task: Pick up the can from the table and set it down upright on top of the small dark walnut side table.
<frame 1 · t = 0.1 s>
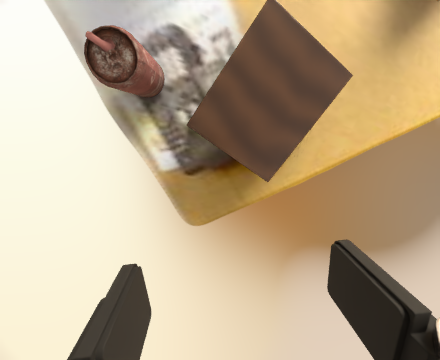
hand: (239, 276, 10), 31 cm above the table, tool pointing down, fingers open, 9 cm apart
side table: (257, 103, 38), on the table
can: (146, 77, 35), on the table
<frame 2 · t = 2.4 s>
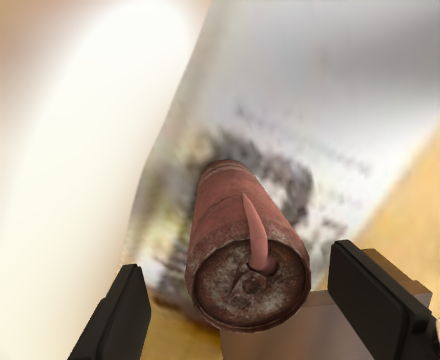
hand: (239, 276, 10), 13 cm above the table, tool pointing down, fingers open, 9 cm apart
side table: (294, 304, 28), on the table
can: (225, 184, 23), on the table
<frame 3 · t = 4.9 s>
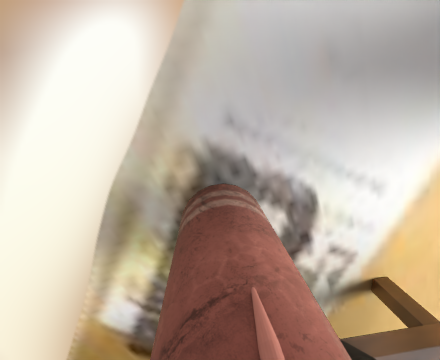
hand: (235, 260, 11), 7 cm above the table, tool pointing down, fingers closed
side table: (297, 343, 24), on the table
can: (221, 215, 17), point 2 cm above the table, touching gripper
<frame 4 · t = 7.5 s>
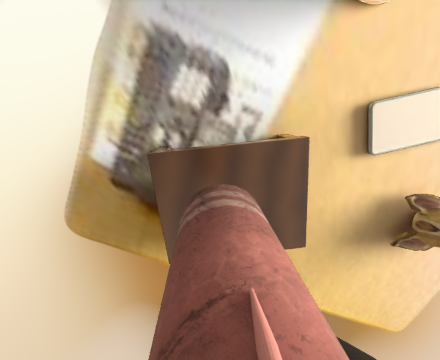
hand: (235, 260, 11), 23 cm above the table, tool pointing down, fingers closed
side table: (228, 187, 35), on the table
can: (220, 215, 17), point 17 cm above the table, touching gripper
smartphone: (411, 119, 33), on the table
ceramic sculpture: (423, 216, 39), on the table
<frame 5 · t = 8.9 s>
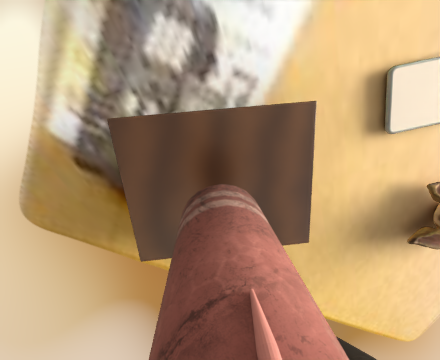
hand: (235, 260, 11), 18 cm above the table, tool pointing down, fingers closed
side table: (217, 171, 29), on the table
can: (220, 215, 17), point 13 cm above the table, touching gripper
smartphone: (436, 91, 28), on the table
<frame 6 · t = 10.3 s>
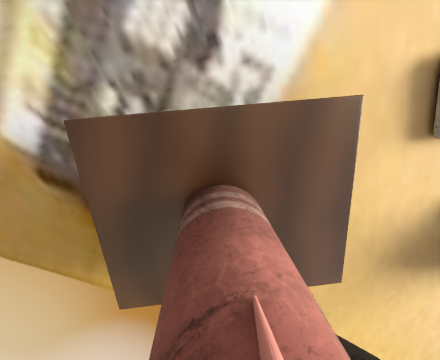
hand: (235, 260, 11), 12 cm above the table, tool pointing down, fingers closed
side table: (220, 186, 23), on the table
can: (221, 216, 16), point 7 cm above the table, touching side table
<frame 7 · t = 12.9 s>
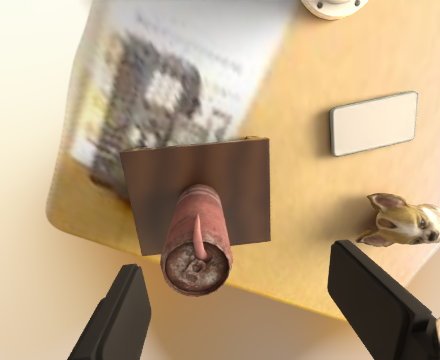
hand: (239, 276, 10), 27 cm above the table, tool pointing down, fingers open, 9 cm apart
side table: (202, 186, 37), on the table
can: (199, 201, 30), point 7 cm above the table, touching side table
smartphone: (370, 124, 36), on the table
ceramic sculpture: (387, 214, 42), on the table
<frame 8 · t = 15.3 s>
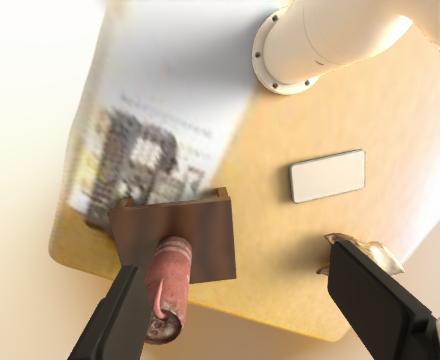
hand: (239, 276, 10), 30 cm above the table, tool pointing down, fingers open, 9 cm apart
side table: (181, 227, 43), on the table
can: (174, 248, 36), point 7 cm above the table, touching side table
smartphone: (326, 175, 42), on the table
ceramic sculpture: (345, 248, 48), on the table
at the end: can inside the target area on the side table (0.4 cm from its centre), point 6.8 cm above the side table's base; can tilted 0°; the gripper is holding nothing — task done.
